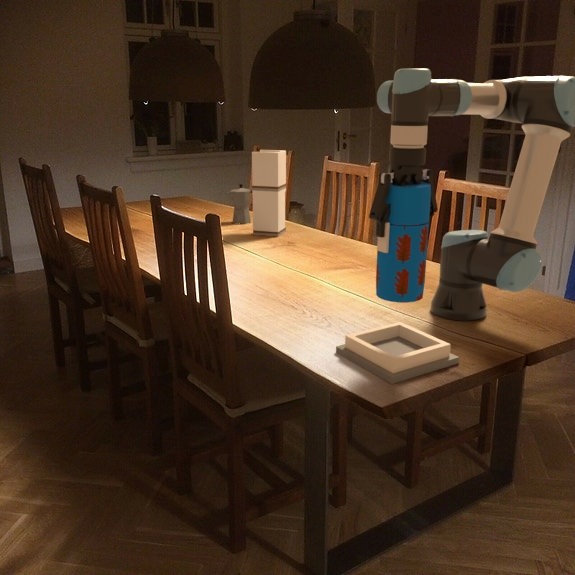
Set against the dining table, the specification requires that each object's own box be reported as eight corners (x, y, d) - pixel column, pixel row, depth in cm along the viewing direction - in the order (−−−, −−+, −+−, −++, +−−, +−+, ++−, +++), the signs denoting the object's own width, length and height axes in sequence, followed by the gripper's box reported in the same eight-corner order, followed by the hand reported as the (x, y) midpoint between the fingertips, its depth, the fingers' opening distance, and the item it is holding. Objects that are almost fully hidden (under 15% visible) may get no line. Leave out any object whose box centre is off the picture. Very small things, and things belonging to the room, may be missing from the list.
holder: (399, 335, 160) (400, 319, 159) (458, 363, 144) (460, 344, 143) (335, 352, 150) (336, 334, 149) (392, 384, 134) (393, 364, 133)
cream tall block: (285, 231, 277) (286, 150, 266) (278, 236, 267) (278, 152, 257) (261, 230, 280) (260, 149, 270) (253, 235, 271) (251, 152, 260)
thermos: (432, 294, 143) (441, 184, 135) (407, 306, 135) (415, 189, 128) (391, 285, 150) (397, 179, 142) (365, 295, 142) (370, 184, 135)
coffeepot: (232, 225, 290) (231, 186, 284) (224, 221, 298) (223, 183, 292) (262, 222, 296) (262, 184, 291) (254, 218, 304) (254, 181, 299)
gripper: (433, 142, 142) (427, 238, 148) (353, 147, 129) (350, 251, 136) (459, 144, 136) (451, 244, 142) (378, 150, 123) (373, 259, 130)
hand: (402, 248), depth 139 cm, fingers closed on thermos, 11 cm apart
